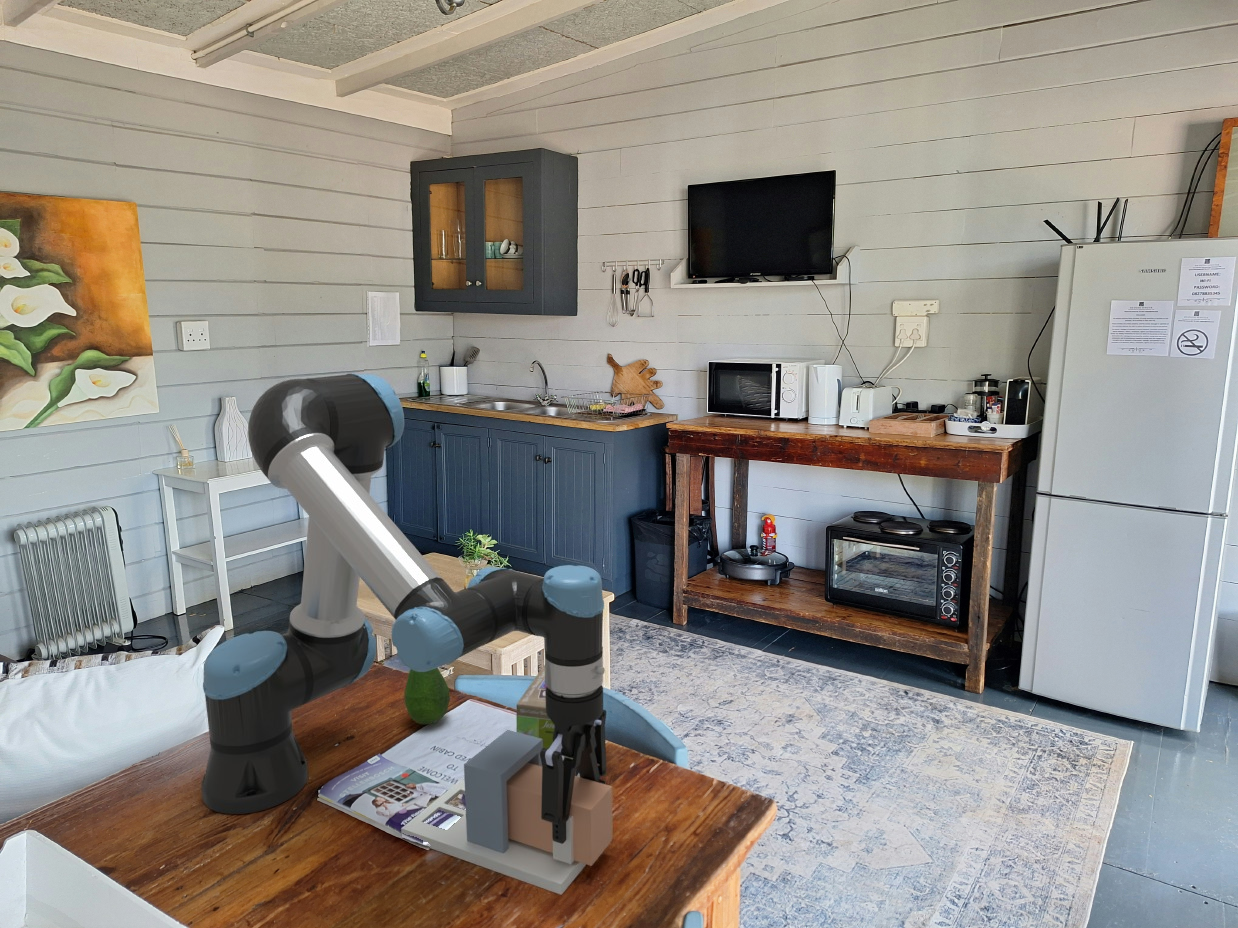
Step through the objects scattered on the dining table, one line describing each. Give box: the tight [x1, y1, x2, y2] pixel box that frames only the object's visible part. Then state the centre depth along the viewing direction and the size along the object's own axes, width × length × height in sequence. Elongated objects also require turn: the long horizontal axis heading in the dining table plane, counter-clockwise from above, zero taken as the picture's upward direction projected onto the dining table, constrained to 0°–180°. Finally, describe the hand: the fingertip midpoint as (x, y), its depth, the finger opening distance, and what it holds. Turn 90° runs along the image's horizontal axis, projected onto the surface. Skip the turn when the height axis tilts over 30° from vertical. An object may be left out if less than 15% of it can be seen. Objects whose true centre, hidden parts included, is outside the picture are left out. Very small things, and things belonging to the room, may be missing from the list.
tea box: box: [515, 664, 580, 777], centre depth 134 cm, size 15×10×15 cm
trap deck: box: [400, 729, 587, 896], centre depth 117 cm, size 26×14×13 cm, turn 63°
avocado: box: [403, 667, 451, 726], centre depth 149 cm, size 8×8×12 cm
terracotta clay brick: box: [507, 763, 613, 867], centre depth 115 cm, size 18×6×8 cm, turn 63°
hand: (575, 844), depth 113 cm, fingers closed on terracotta clay brick, 6 cm apart
